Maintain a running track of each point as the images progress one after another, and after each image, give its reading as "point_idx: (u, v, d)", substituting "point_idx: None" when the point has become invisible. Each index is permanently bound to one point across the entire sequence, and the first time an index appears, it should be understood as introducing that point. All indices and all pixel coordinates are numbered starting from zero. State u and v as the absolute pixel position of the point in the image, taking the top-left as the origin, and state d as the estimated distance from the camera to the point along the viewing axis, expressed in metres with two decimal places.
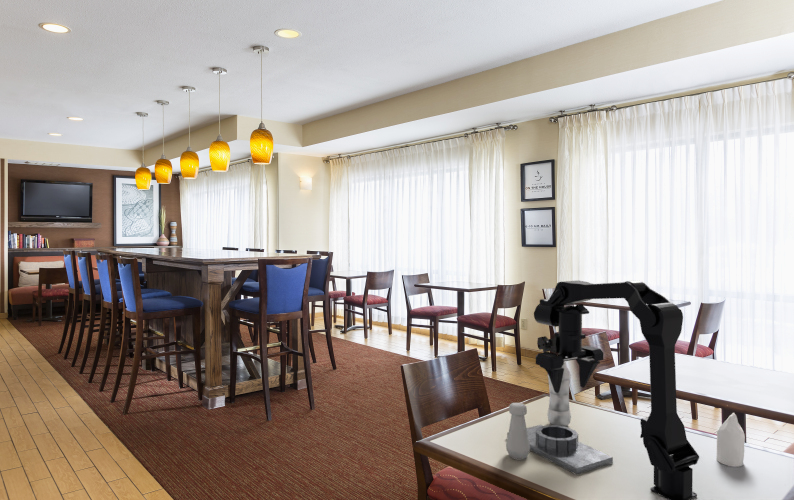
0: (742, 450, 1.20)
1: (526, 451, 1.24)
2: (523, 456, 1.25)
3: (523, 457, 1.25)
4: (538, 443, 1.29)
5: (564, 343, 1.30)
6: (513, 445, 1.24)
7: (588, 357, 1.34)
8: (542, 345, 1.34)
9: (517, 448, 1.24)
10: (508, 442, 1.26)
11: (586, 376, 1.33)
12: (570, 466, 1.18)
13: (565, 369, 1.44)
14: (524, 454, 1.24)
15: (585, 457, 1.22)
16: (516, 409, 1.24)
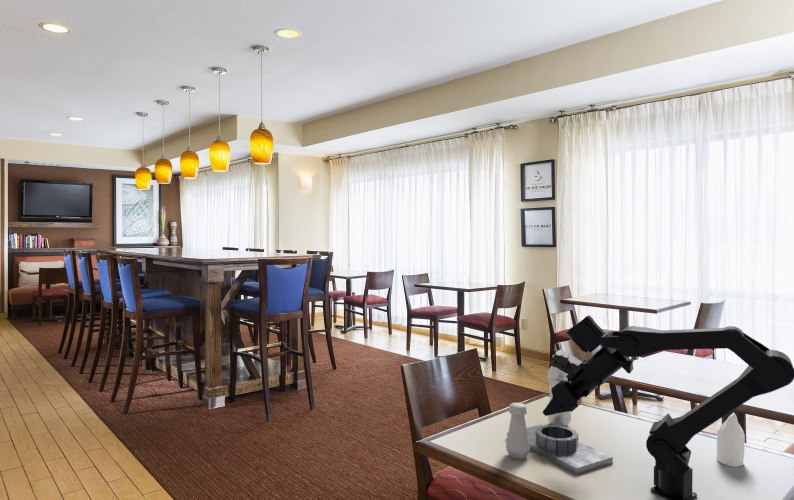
0: (742, 450, 1.20)
1: (526, 451, 1.24)
2: (523, 456, 1.25)
3: (523, 457, 1.25)
4: (538, 443, 1.29)
5: (587, 382, 1.14)
6: (513, 445, 1.24)
7: None
8: (561, 366, 1.16)
9: (517, 448, 1.24)
10: (508, 442, 1.26)
11: None
12: (570, 466, 1.18)
13: None
14: (524, 454, 1.24)
15: (585, 457, 1.22)
16: (516, 409, 1.24)
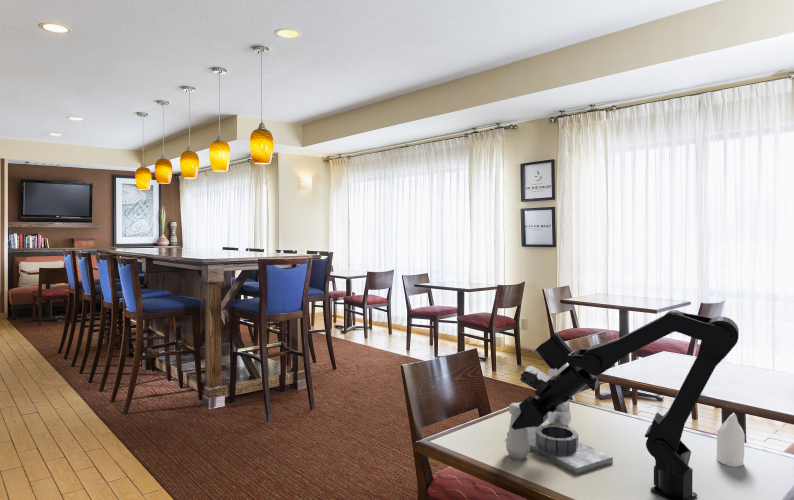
0: (742, 450, 1.20)
1: (526, 451, 1.24)
2: (523, 456, 1.25)
3: (523, 457, 1.25)
4: (538, 443, 1.29)
5: (554, 398, 1.18)
6: (513, 445, 1.24)
7: None
8: (529, 382, 1.20)
9: (517, 448, 1.24)
10: (508, 442, 1.26)
11: None
12: (570, 466, 1.18)
13: None
14: (524, 454, 1.24)
15: (585, 457, 1.22)
16: (516, 409, 1.24)
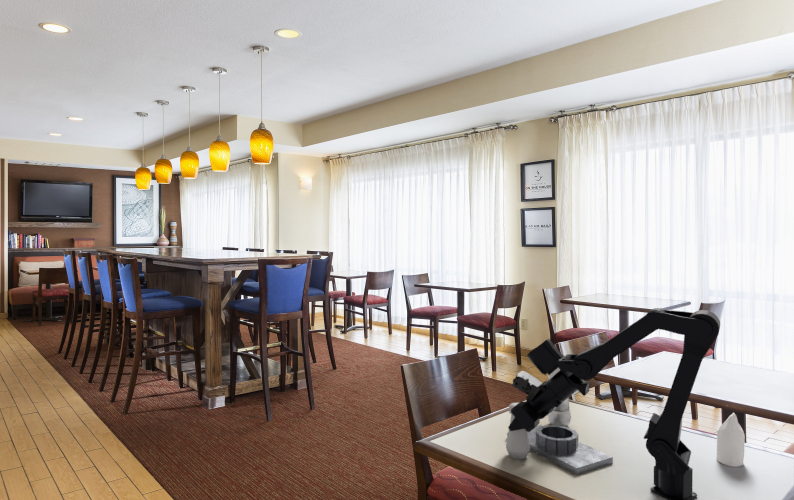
0: (742, 450, 1.20)
1: (526, 451, 1.24)
2: (523, 456, 1.25)
3: (523, 457, 1.25)
4: (538, 443, 1.29)
5: (545, 403, 1.20)
6: (513, 445, 1.24)
7: None
8: (521, 388, 1.21)
9: (517, 448, 1.24)
10: (508, 442, 1.26)
11: None
12: (570, 466, 1.18)
13: None
14: (524, 454, 1.24)
15: (585, 457, 1.22)
16: None
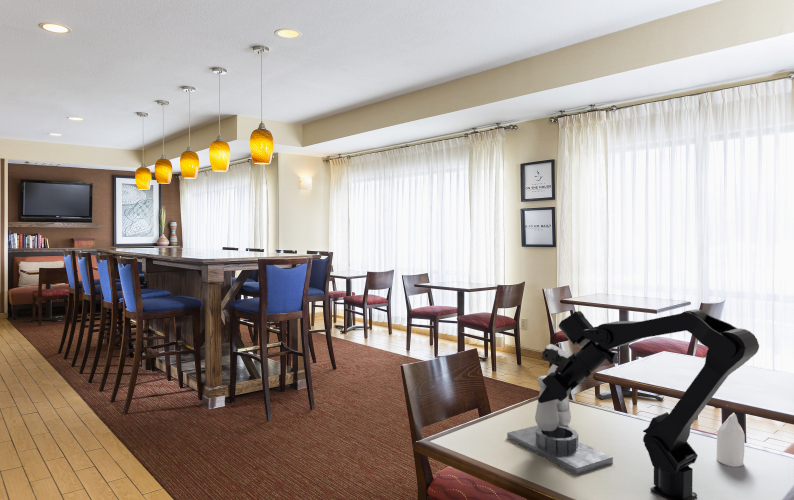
0: (742, 450, 1.20)
1: (556, 422, 1.26)
2: (553, 427, 1.26)
3: (553, 428, 1.27)
4: (538, 443, 1.29)
5: (576, 373, 1.22)
6: (542, 416, 1.26)
7: None
8: (551, 359, 1.23)
9: (546, 420, 1.26)
10: (537, 414, 1.28)
11: None
12: (570, 466, 1.18)
13: None
14: (554, 425, 1.26)
15: (585, 457, 1.22)
16: None
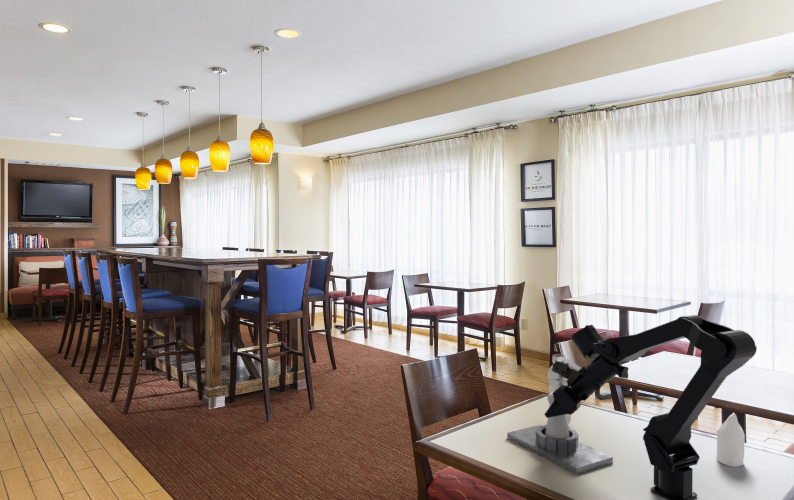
0: (742, 450, 1.20)
1: None
2: None
3: None
4: (538, 443, 1.29)
5: (586, 387, 1.23)
6: (553, 433, 1.28)
7: None
8: (561, 372, 1.25)
9: (557, 436, 1.27)
10: (548, 430, 1.29)
11: None
12: (570, 466, 1.18)
13: None
14: None
15: (585, 457, 1.22)
16: None
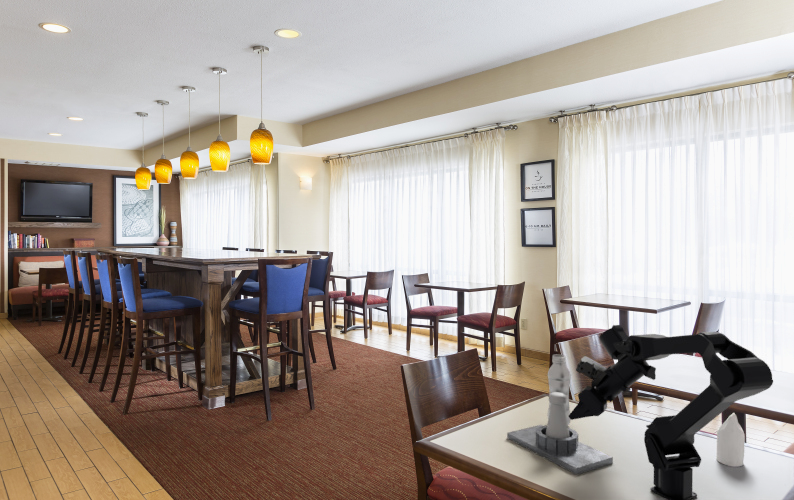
0: (742, 450, 1.20)
1: None
2: None
3: None
4: (538, 443, 1.29)
5: (612, 388, 1.19)
6: (553, 433, 1.28)
7: None
8: (587, 372, 1.21)
9: (557, 436, 1.27)
10: (548, 430, 1.29)
11: None
12: (570, 466, 1.18)
13: (565, 369, 1.44)
14: None
15: (585, 457, 1.22)
16: (557, 398, 1.28)
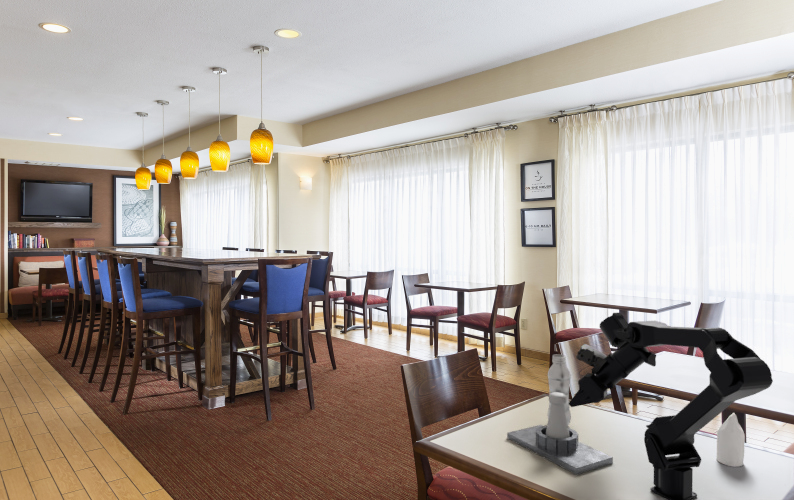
0: (742, 450, 1.20)
1: None
2: None
3: None
4: (538, 443, 1.29)
5: (612, 375, 1.19)
6: (553, 433, 1.28)
7: None
8: (587, 360, 1.21)
9: (557, 436, 1.27)
10: (548, 430, 1.29)
11: None
12: (570, 466, 1.18)
13: (565, 369, 1.44)
14: None
15: (585, 457, 1.22)
16: (557, 398, 1.28)
